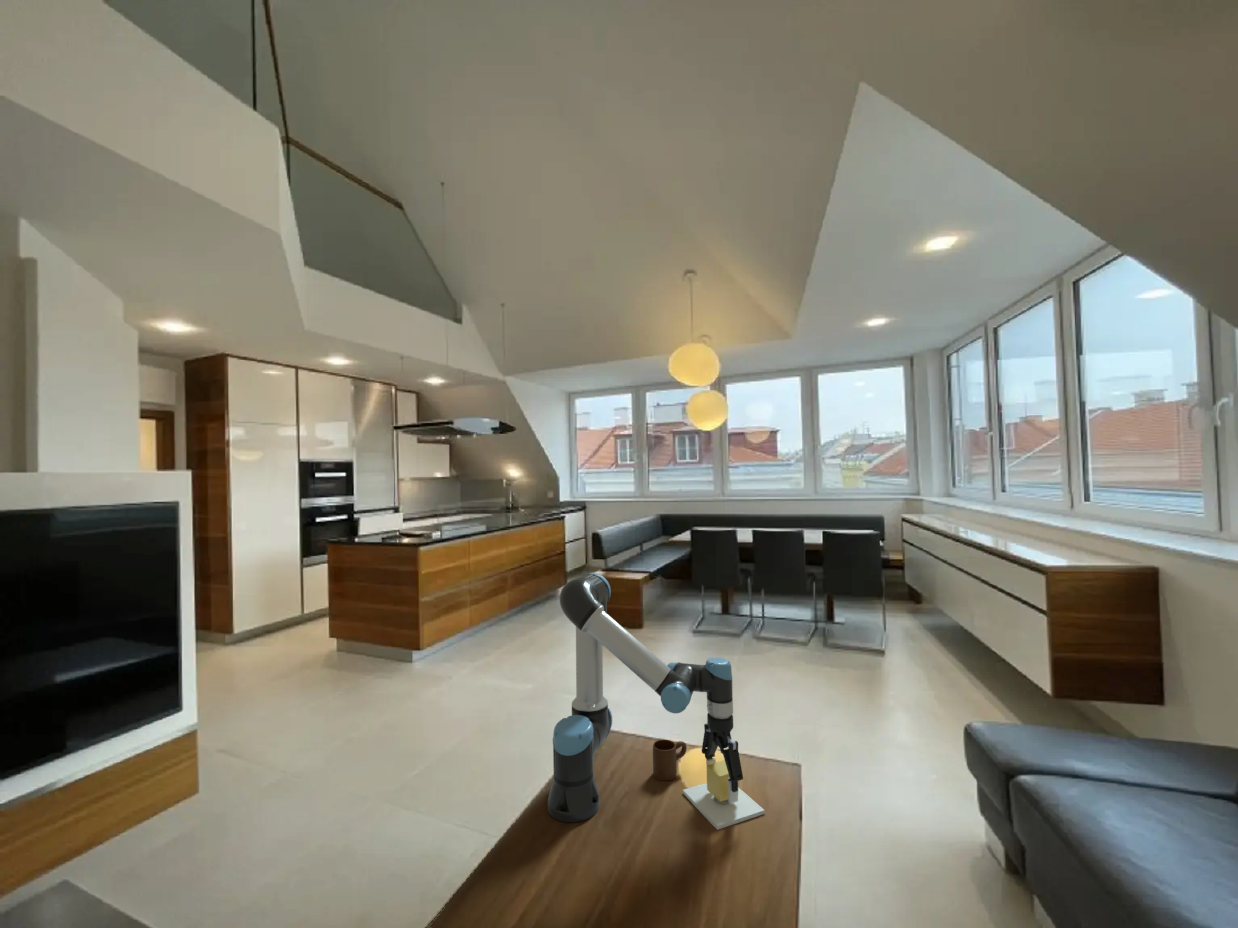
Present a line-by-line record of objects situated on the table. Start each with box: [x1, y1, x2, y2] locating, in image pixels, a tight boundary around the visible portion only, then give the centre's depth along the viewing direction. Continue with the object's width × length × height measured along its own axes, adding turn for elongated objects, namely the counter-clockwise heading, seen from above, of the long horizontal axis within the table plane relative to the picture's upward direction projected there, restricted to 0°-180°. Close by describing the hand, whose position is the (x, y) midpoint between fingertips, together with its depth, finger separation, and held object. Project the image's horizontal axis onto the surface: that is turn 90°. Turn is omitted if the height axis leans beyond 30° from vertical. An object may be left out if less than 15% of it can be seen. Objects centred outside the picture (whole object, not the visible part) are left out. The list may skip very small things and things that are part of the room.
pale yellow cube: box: [706, 760, 730, 802], centre depth 147 cm, size 6×6×7 cm
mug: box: [652, 739, 688, 781], centre depth 163 cm, size 12×8×9 cm, turn 114°
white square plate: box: [682, 782, 765, 830], centre depth 147 cm, size 18×16×9 cm
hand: (722, 791), depth 146 cm, fingers open, 10 cm apart
